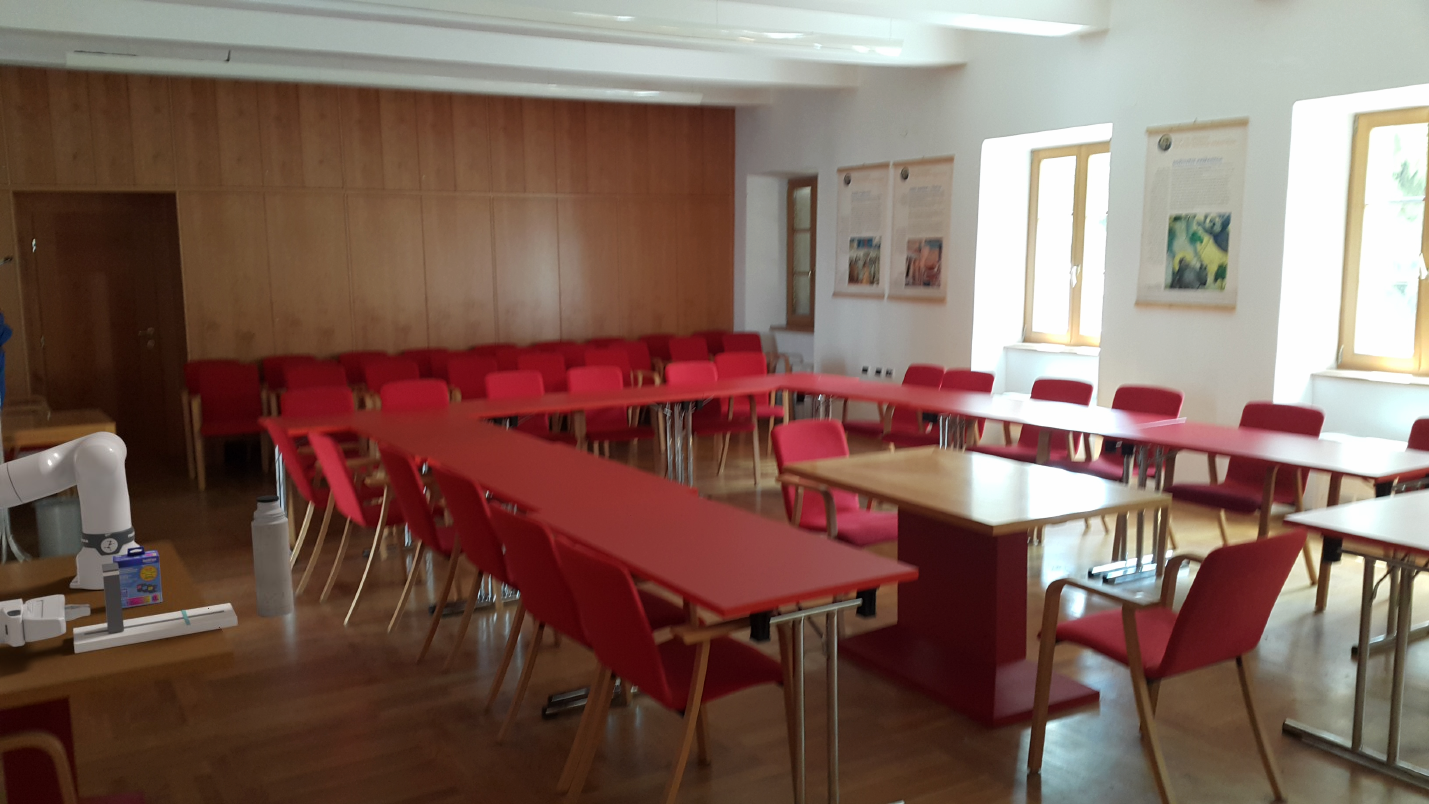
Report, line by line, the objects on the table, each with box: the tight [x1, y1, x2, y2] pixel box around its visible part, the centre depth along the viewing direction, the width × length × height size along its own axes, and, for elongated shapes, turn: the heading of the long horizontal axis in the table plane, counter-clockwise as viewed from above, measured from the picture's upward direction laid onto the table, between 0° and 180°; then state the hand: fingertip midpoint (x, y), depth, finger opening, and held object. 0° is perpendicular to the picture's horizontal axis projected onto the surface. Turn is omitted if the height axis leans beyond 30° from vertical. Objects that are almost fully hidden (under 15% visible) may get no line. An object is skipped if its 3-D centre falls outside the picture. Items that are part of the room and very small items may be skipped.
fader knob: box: [102, 563, 124, 633], centre depth 233 cm, size 6×3×14 cm, turn 32°
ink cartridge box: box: [113, 545, 163, 609], centre depth 258 cm, size 10×6×14 cm, turn 124°
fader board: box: [72, 602, 239, 654], centre depth 238 cm, size 12×32×2 cm, turn 122°
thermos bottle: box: [250, 494, 295, 619], centre depth 249 cm, size 8×8×28 cm
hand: (90, 609), depth 230 cm, fingers closed
